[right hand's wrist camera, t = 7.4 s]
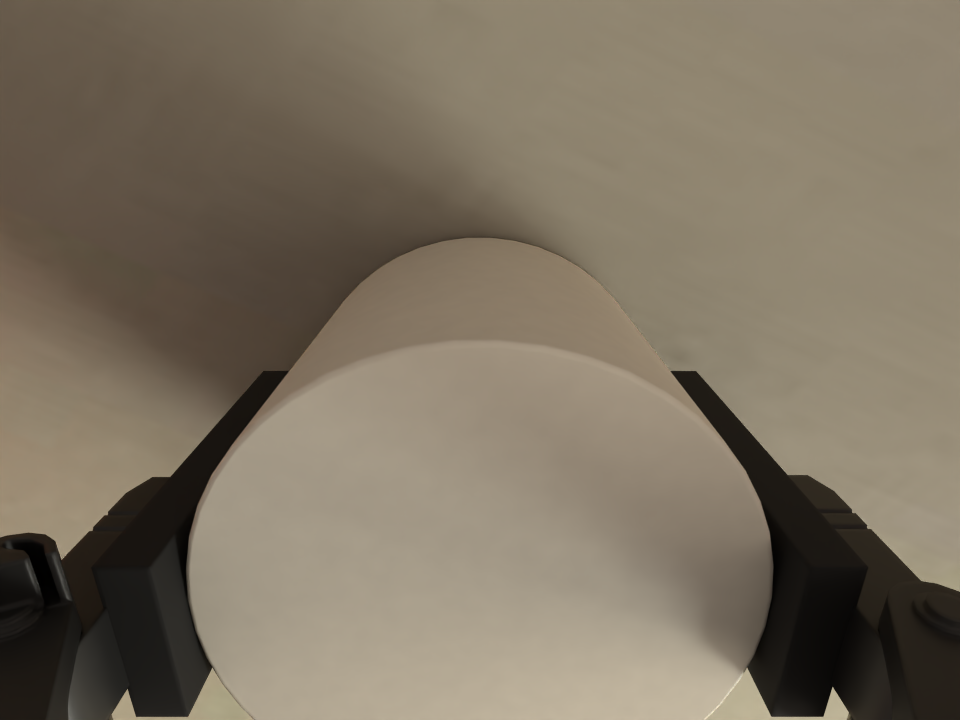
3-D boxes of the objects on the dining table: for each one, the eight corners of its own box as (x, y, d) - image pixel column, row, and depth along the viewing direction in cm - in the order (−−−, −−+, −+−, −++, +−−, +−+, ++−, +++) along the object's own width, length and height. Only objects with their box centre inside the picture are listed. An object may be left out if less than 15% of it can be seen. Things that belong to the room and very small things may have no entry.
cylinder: (320, 530, 17) (216, 795, 10) (305, 226, 14) (140, 321, 7) (620, 544, 17) (709, 814, 10) (672, 247, 14) (851, 360, 7)
